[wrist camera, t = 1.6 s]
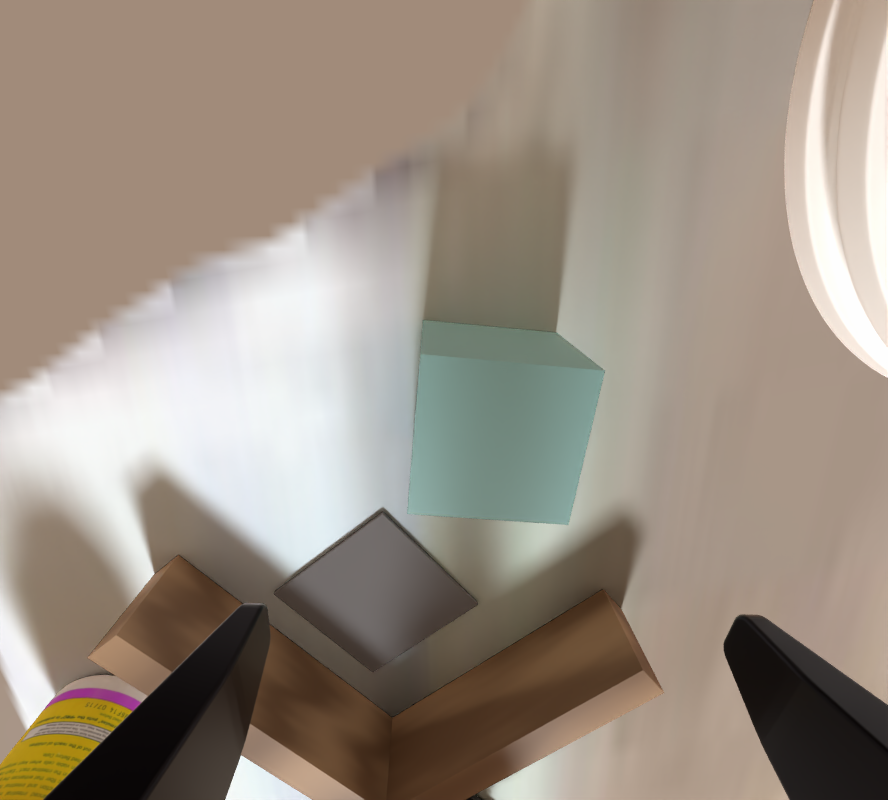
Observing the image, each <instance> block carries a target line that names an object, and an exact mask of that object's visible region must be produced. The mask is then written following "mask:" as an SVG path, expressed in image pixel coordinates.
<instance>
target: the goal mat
mask: <svg viewBox="0 0 888 800" xmlns="http://www.w3.org/2000/svg"><path fill="white" fill-rule="evenodd" d="M274 595H276V596H277V597H278V598H280V599H281V600H282V601H283V602H285V603H286V604H287V605H288V606H290V607H291V608H292V609H293V610H295V611H296V612H297V613H298V614H300V615H301V616H302V617H304V618H305V619H306V620H307V621H309V622H310V623H311V624H312V625H314V626H315V627H316V628H317V629H319V630H320V631H321V632H322V633H324V634H325V635H326V636H328V637H329V638H330V639H331V640H333V641H334V642H335V643H336V644H338V645H339V646H340V647H341V648H343V649H344V650H345V651H347V652H348V653H349V654H350V655H352V656H353V657H354V658H355V659H357V660H358V661H359V662H360V663H362V664H363V665H364V666H365V667H367V668H368V669H369V670H371V671H372V672H374V671H376V670H377V669H379V668H380V667H382V666H383V665H385V664H387V663H388V662H390V661H391V660H393V659H394V658H396V657H397V656H399V655H400V654H402V653H404V652H405V651H407V650H408V649H410V648H411V647H413V646H414V645H416V644H417V643H419V642H421V641H422V640H424V639H425V638H427V637H428V636H430V635H431V634H433V633H435V632H436V631H438V630H439V629H441V628H442V627H444V626H445V625H447V624H448V623H450V622H452V621H453V620H455V619H456V618H458V617H459V616H461V615H462V614H464V613H466V612H467V611H469V610H470V609H472V608H473V607H475V606H476V605H478V603H477V601H476V600H475V599H474V598H473V597H472V596H471V595H470V594H469V593H467V592H466V591H465V590H464V589H463V588H462V587H461V586H460V585H459V584H458V583H457V582H456V581H455V580H454V579H453V578H452V577H451V576H450V575H449V574H448V573H447V572H446V571H444V570H443V569H442V568H441V567H440V566H439V565H438V564H437V563H436V562H435V561H434V560H433V559H432V558H431V557H430V556H429V555H428V554H427V553H426V552H425V551H424V550H423V549H421V548H420V547H419V546H418V545H417V544H416V543H415V542H414V541H413V540H412V539H411V538H410V537H409V536H408V535H407V534H406V533H405V532H404V531H403V530H402V529H401V528H400V527H398V526H397V525H396V524H395V523H394V522H393V521H392V520H391V519H390V518H389V517H388V516H387V515H386V514H385V513H384V512H382V513H380V514H379V515H378V516H376V517H375V518H374V519H372V520H371V521H370V522H368V523H367V524H365V525H364V526H363V527H361V528H360V529H359V530H357V531H356V532H355V533H353V534H352V535H351V536H349V537H348V538H346V539H345V540H344V541H342V542H341V543H340V544H338V545H337V546H336V547H334V548H333V549H332V550H330V551H329V552H328V553H326V554H325V555H323V556H322V557H321V558H319V559H318V560H317V561H315V562H314V563H313V564H311V565H310V566H309V567H307V568H306V569H304V570H303V571H302V572H300V573H299V574H298V575H296V576H295V577H294V578H292V579H291V580H290V581H288V582H287V583H286V584H284V585H283V586H281V587H280V588H279V589H277V590H276V591H275V592H274Z"/></svg>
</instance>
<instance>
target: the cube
mask: <svg viewBox="0 0 888 800" xmlns="http://www.w3.org/2000/svg"><path fill="white" fill-rule="evenodd" d="M604 373H605V370H603V369H602V368H601V367H600V366H598V365H597V364H596V363H594V362H593V361H592V360H591V359H589V358H588V357H587V356H585V355H584V354H583V353H582V352H580V351H579V350H578V349H576V348H575V347H574V346H573V345H571V344H570V343H569V342H568V341H566V340H565V339H564V338H562V337H561V336H560V335H559V334H557V333H555V332H545V331H534V330H524V329H513V328H503V327H492V326H482V325H471V324H461V323H450V322H440V321H429V320H423V328H422V340H421V351H420V363H419V375H418V387H417V399H416V410H415V422H414V434H413V446H412V459H411V471H410V484H409V497H408V510H407V514H414V515H429V516H444V517H459V518H474V519H489V520H504V521H519V522H534V523H549V524H564V525H568V524H569V520H570V516H571V512H572V507H573V503H574V499H575V495H576V491H577V486H578V482H579V478H580V474H581V470H582V465H583V461H584V457H585V453H586V448H587V444H588V440H589V436H590V432H591V427H592V423H593V419H594V415H595V411H596V406H597V402H598V398H599V394H600V389H601V385H602V381H603V377H604Z"/></svg>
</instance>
